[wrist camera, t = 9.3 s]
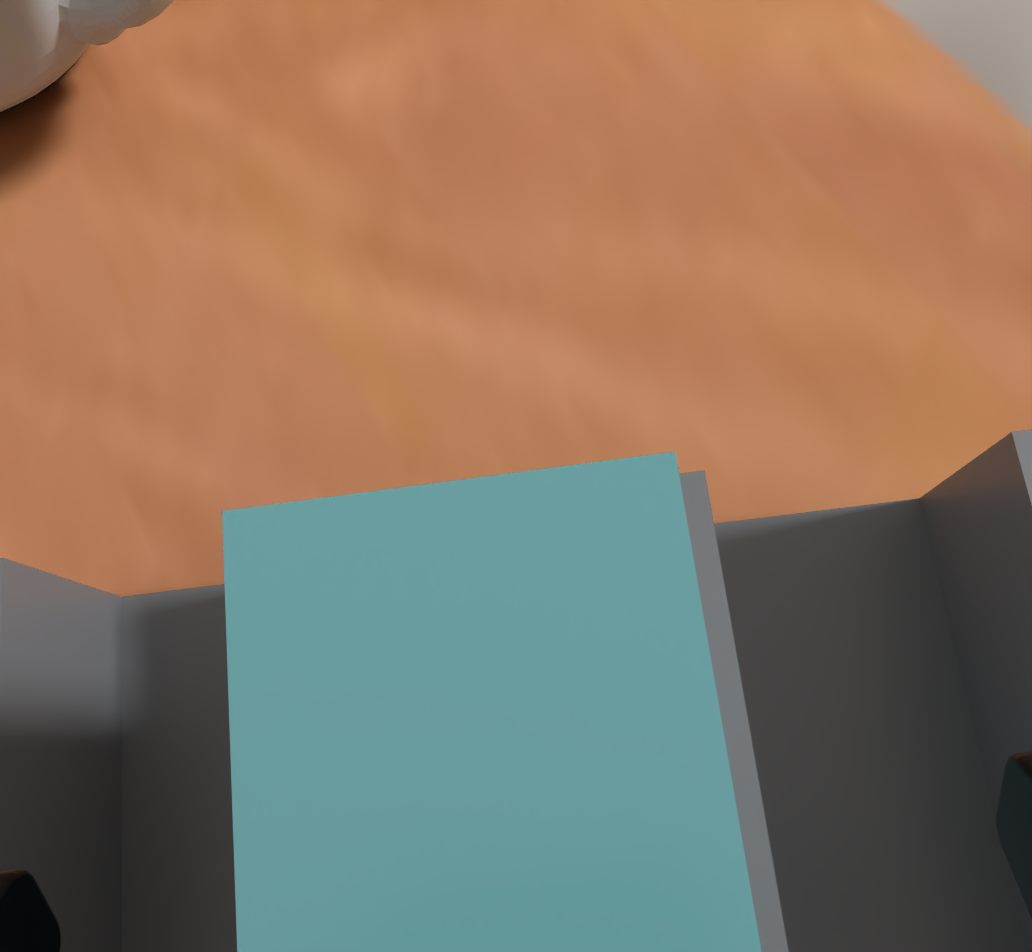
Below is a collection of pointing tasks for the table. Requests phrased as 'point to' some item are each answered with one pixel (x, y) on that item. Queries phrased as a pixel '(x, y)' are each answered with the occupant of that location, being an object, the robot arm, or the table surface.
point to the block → (480, 721)
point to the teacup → (58, 38)
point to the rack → (741, 696)
